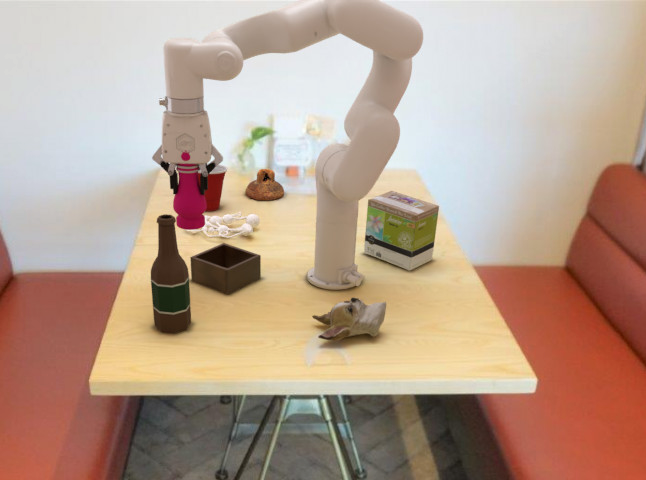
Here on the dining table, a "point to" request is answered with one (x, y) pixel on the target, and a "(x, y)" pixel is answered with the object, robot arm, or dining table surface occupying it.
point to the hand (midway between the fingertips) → (189, 191)
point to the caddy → (225, 268)
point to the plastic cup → (214, 187)
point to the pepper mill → (189, 197)
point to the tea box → (400, 229)
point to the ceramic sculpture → (352, 319)
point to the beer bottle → (170, 281)
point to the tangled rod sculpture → (223, 230)
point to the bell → (265, 186)
